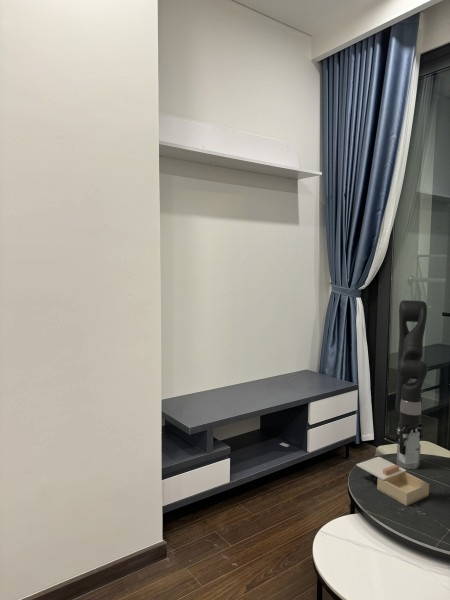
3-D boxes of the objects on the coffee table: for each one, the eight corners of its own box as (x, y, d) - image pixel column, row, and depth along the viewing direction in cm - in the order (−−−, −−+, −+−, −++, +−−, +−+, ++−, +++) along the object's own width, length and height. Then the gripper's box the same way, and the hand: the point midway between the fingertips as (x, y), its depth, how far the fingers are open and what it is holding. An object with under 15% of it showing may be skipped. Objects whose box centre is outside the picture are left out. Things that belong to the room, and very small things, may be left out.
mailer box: (399, 480, 179) (399, 469, 179) (428, 495, 167) (429, 483, 167) (377, 489, 172) (377, 477, 172) (406, 506, 161) (406, 493, 160)
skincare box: (405, 464, 164) (406, 434, 163) (398, 459, 168) (399, 429, 167) (419, 462, 165) (420, 433, 164) (411, 457, 170) (412, 428, 168)
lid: (378, 457, 188) (378, 452, 188) (406, 471, 176) (406, 465, 176) (356, 465, 181) (356, 459, 181) (383, 480, 169) (383, 474, 169)
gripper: (407, 417, 158) (405, 460, 160) (430, 410, 165) (428, 451, 167) (390, 411, 164) (388, 452, 166) (413, 404, 172) (412, 444, 173)
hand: (408, 451), depth 166 cm, fingers closed on skincare box, 7 cm apart
